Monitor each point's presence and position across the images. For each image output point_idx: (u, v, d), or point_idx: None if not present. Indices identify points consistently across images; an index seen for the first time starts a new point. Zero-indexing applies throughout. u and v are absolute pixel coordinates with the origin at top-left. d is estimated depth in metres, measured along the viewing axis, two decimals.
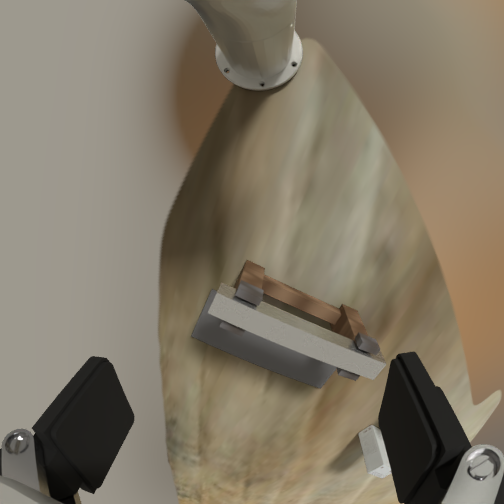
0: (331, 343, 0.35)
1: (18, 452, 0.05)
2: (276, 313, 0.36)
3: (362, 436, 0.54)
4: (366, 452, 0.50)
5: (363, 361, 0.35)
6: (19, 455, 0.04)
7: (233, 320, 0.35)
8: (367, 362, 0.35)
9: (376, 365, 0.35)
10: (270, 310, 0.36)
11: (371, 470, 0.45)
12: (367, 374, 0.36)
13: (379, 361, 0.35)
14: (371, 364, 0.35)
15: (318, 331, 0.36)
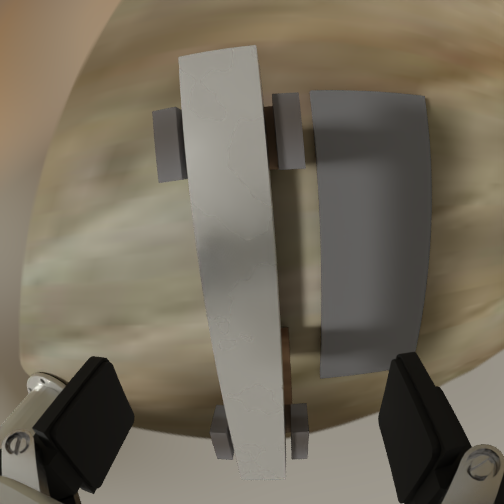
0: (203, 276, 0.12)
1: (18, 452, 0.05)
2: None
3: None
4: None
5: (205, 134, 0.10)
6: (19, 455, 0.04)
7: (276, 456, 0.15)
8: (202, 118, 0.10)
9: (198, 80, 0.10)
10: None
11: None
12: (247, 79, 0.10)
13: (182, 83, 0.10)
14: (202, 99, 0.10)
15: None
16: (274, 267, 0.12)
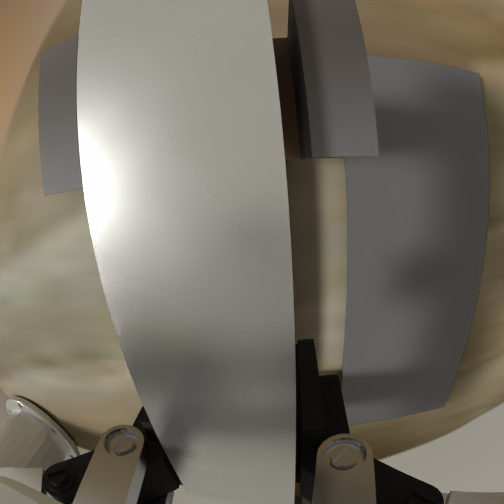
0: (142, 392, 0.05)
1: (118, 449, 0.06)
2: None
3: None
4: None
5: (121, 72, 0.03)
6: (117, 456, 0.05)
7: None
8: (117, 38, 0.03)
9: None
10: None
11: None
12: None
13: None
14: (123, 0, 0.03)
15: None
16: (293, 390, 0.05)
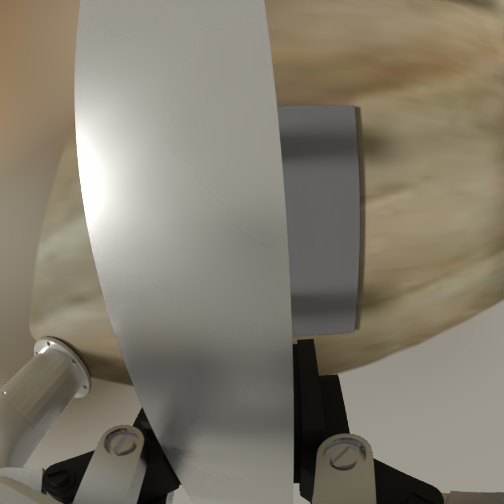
0: (141, 391, 0.05)
1: (118, 449, 0.06)
2: None
3: None
4: None
5: (118, 71, 0.03)
6: (117, 456, 0.05)
7: None
8: (115, 37, 0.03)
9: None
10: None
11: None
12: None
13: None
14: (121, 0, 0.03)
15: None
16: (290, 389, 0.05)
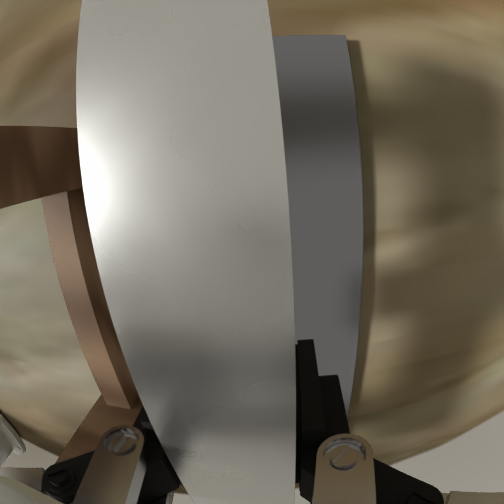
0: (142, 390, 0.05)
1: (118, 448, 0.06)
2: None
3: None
4: None
5: (120, 69, 0.03)
6: (117, 456, 0.05)
7: None
8: (117, 35, 0.03)
9: None
10: None
11: None
12: None
13: None
14: None
15: None
16: (292, 389, 0.05)
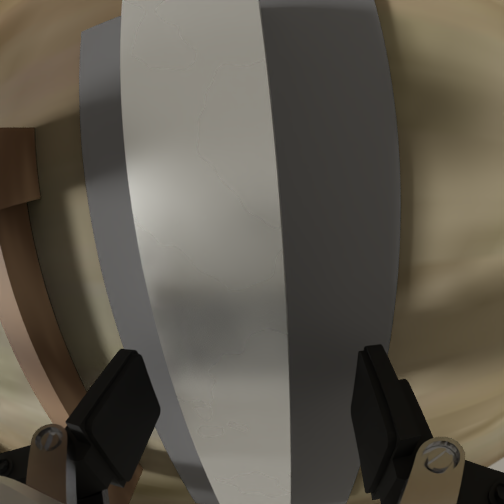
0: (165, 344, 0.07)
1: (49, 447, 0.05)
2: None
3: None
4: None
5: (157, 95, 0.05)
6: (49, 452, 0.05)
7: None
8: (153, 68, 0.05)
9: (150, 10, 0.05)
10: None
11: None
12: None
13: (125, 19, 0.05)
14: (155, 37, 0.05)
15: None
16: (285, 336, 0.06)
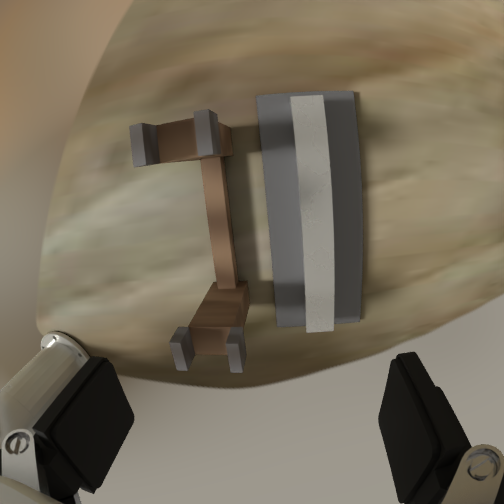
0: (300, 190, 0.27)
1: (18, 452, 0.05)
2: None
3: None
4: None
5: (303, 131, 0.26)
6: (19, 455, 0.04)
7: (329, 306, 0.31)
8: (302, 124, 0.25)
9: (299, 108, 0.25)
10: None
11: None
12: (320, 109, 0.25)
13: (292, 108, 0.25)
14: (302, 116, 0.25)
15: (300, 207, 0.29)
16: (331, 186, 0.27)
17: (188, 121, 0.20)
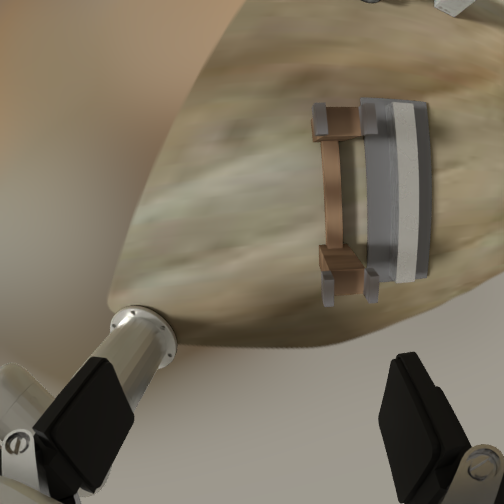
0: (399, 170, 0.34)
1: (18, 452, 0.05)
2: (395, 227, 0.37)
3: (454, 11, 0.26)
4: (468, 0, 0.21)
5: (401, 128, 0.32)
6: (19, 455, 0.04)
7: (413, 260, 0.37)
8: (400, 123, 0.32)
9: (398, 111, 0.31)
10: (394, 233, 0.38)
11: None
12: (411, 114, 0.31)
13: (393, 111, 0.32)
14: (400, 117, 0.32)
15: (394, 183, 0.36)
16: (418, 169, 0.33)
17: (347, 108, 0.27)
